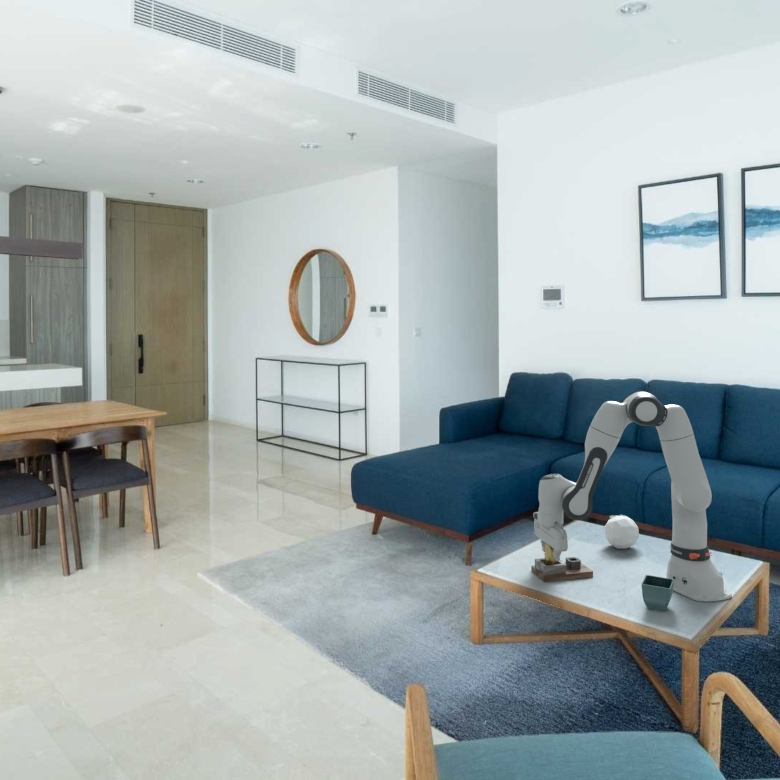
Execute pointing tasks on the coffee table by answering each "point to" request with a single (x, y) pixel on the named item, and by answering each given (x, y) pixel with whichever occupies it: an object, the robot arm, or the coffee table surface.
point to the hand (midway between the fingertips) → (550, 555)
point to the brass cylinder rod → (549, 555)
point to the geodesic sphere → (621, 531)
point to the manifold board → (561, 570)
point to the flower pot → (657, 592)
